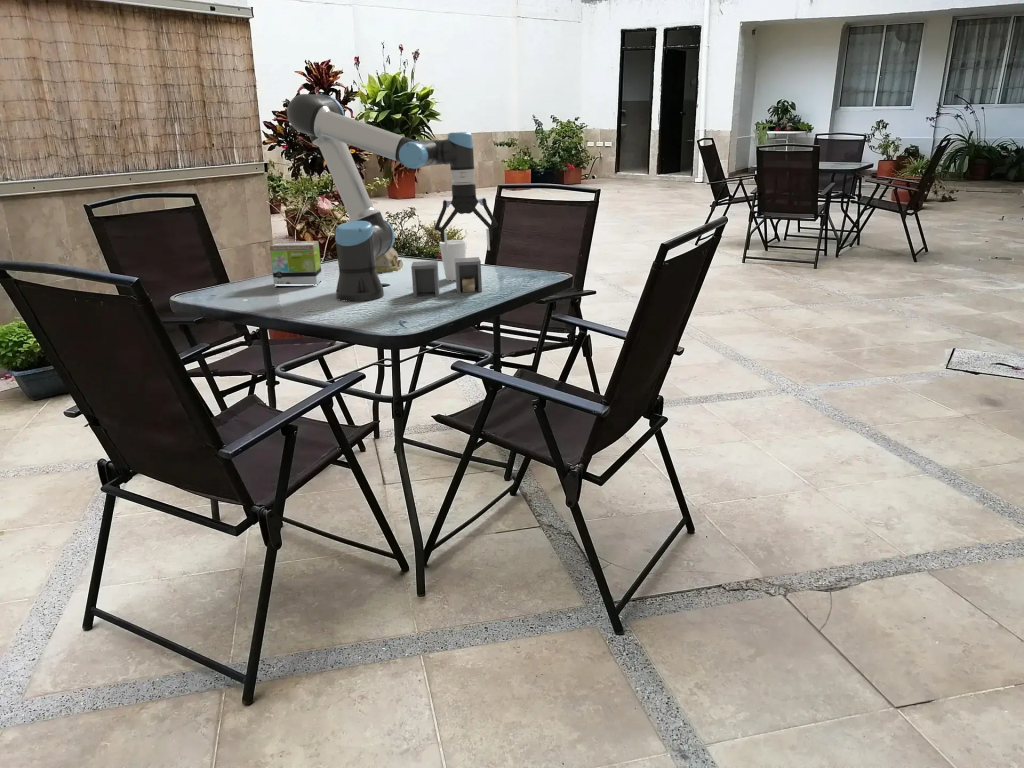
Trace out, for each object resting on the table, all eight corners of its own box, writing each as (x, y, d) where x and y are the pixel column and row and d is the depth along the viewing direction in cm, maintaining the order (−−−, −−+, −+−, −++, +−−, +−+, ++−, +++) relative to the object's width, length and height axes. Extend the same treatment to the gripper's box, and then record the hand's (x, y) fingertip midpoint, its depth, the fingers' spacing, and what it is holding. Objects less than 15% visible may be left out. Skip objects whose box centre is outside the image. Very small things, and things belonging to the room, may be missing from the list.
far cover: (457, 293, 252) (455, 262, 249) (456, 288, 260) (454, 258, 257) (482, 291, 253) (480, 261, 250) (480, 287, 261) (478, 257, 257)
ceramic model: (392, 273, 290) (390, 246, 286) (365, 273, 293) (362, 246, 290) (407, 266, 302) (405, 240, 299) (381, 266, 306) (379, 240, 302)
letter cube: (462, 291, 255) (462, 279, 253) (462, 289, 259) (462, 276, 257) (475, 291, 255) (474, 278, 254) (474, 288, 259) (474, 276, 257)
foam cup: (470, 276, 279) (468, 239, 275) (466, 281, 271) (464, 243, 266) (444, 276, 280) (441, 240, 276) (439, 281, 272) (436, 244, 267)
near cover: (413, 297, 249) (411, 266, 245) (415, 292, 256) (412, 261, 253) (438, 296, 249) (436, 265, 246) (439, 291, 257) (437, 260, 253)
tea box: (274, 288, 270) (268, 245, 266) (281, 282, 280) (275, 241, 275) (317, 286, 271) (312, 243, 266) (323, 281, 280) (318, 239, 275)
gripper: (423, 186, 242) (428, 255, 248) (503, 182, 243) (506, 250, 250) (424, 184, 249) (429, 251, 255) (502, 180, 250) (505, 247, 257)
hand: (467, 251), depth 253 cm, fingers open, 13 cm apart
